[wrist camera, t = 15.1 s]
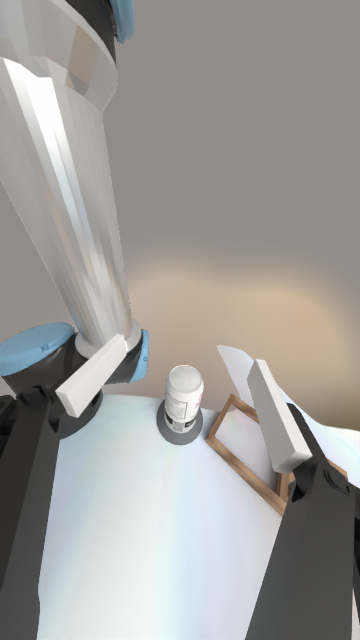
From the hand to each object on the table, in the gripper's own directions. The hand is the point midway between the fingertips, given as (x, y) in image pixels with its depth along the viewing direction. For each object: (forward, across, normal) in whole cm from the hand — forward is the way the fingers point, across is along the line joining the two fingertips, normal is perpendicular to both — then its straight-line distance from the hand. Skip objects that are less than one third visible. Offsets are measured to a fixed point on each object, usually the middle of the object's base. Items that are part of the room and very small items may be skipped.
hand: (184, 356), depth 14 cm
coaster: (+10, 0, -30) cm, 32 cm away
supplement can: (+10, 0, -30) cm, 31 cm away
